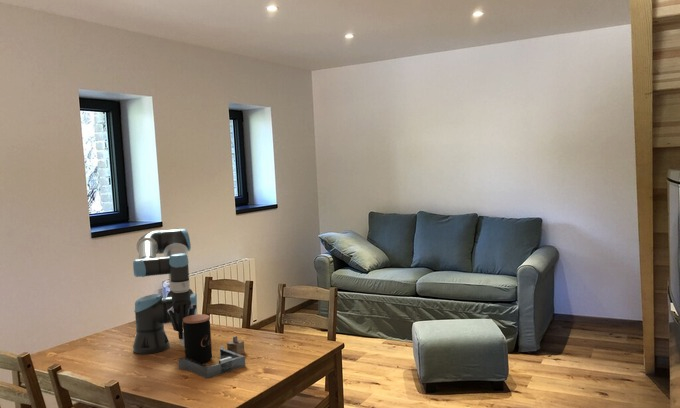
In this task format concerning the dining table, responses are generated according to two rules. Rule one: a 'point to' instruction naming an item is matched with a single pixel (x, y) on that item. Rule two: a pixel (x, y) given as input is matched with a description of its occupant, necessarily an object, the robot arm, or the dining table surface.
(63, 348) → the dining table surface
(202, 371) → the gray rectangular tray
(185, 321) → the coffee jar
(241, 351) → the grey block
